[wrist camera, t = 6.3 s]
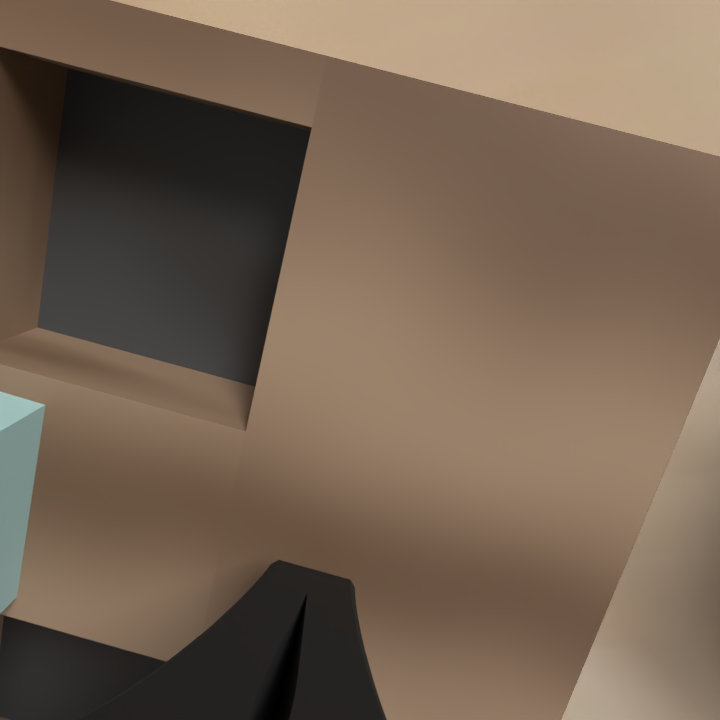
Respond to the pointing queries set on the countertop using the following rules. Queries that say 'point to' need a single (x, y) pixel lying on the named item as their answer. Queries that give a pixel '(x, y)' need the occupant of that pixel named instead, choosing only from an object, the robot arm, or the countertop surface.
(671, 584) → the countertop surface
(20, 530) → the block
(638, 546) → the countertop surface
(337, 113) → the tray
